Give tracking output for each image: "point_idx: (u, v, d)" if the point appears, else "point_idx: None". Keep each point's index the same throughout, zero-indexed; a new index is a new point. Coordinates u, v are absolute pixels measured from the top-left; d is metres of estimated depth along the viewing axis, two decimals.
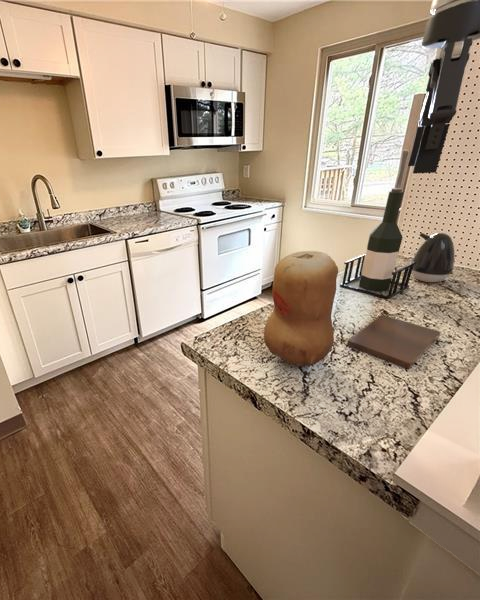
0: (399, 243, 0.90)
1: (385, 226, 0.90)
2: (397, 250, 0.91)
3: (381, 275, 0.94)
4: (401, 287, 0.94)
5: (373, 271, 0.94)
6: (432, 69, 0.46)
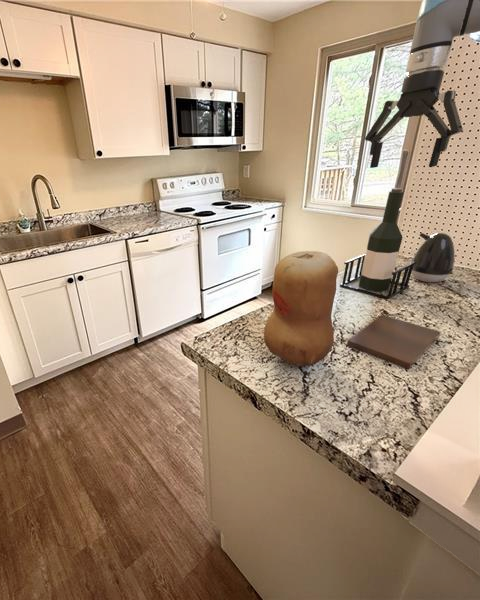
0: (399, 243, 0.90)
1: (385, 226, 0.90)
2: (397, 250, 0.91)
3: (381, 275, 0.94)
4: (401, 287, 0.94)
5: (373, 271, 0.94)
6: (422, 105, 0.76)
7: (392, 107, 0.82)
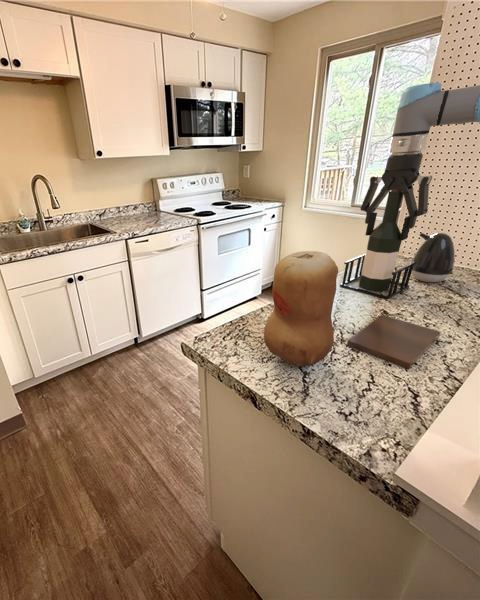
0: (399, 243, 0.90)
1: (385, 226, 0.90)
2: (397, 250, 0.91)
3: (381, 275, 0.94)
4: (401, 287, 0.94)
5: (373, 271, 0.94)
6: (403, 183, 0.84)
7: (378, 181, 0.89)
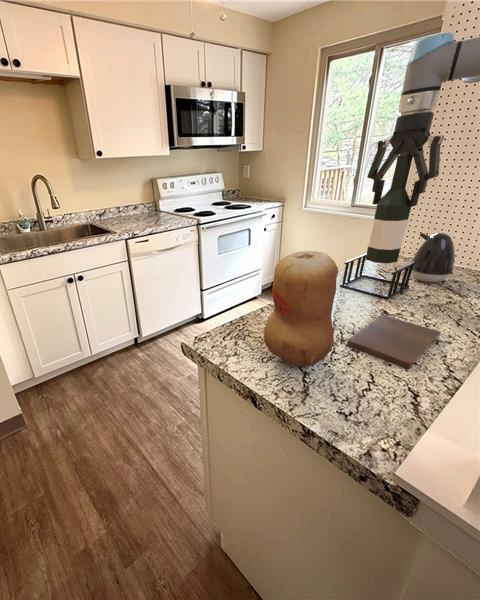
0: (408, 210, 0.86)
1: (394, 192, 0.86)
2: (406, 218, 0.86)
3: (389, 245, 0.89)
4: (401, 287, 0.94)
5: (381, 241, 0.90)
6: (412, 144, 0.80)
7: (386, 145, 0.85)
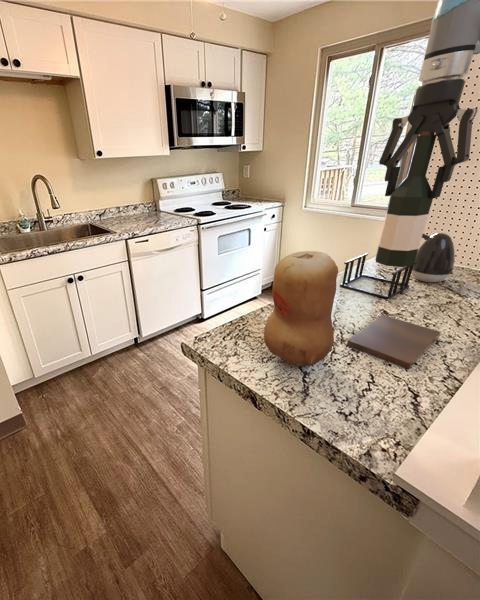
0: (429, 203, 0.70)
1: (412, 181, 0.70)
2: (426, 212, 0.71)
3: (405, 245, 0.74)
4: (401, 287, 0.94)
5: (395, 240, 0.75)
6: (437, 121, 0.64)
7: (403, 124, 0.70)
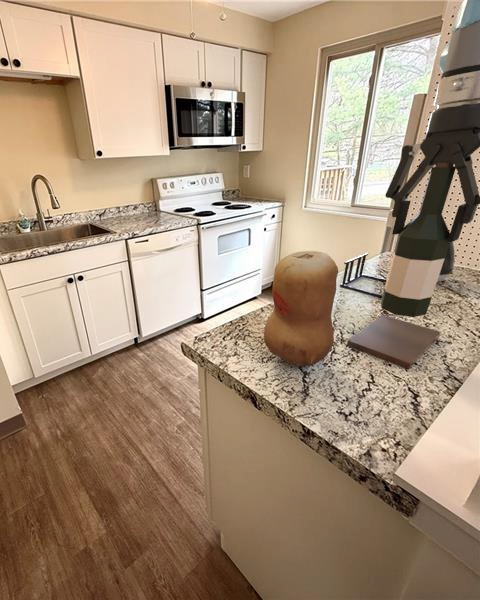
0: (446, 246, 0.59)
1: (425, 220, 0.59)
2: (442, 256, 0.60)
3: (416, 292, 0.63)
4: None
5: (405, 287, 0.64)
6: (457, 152, 0.53)
7: (414, 152, 0.59)
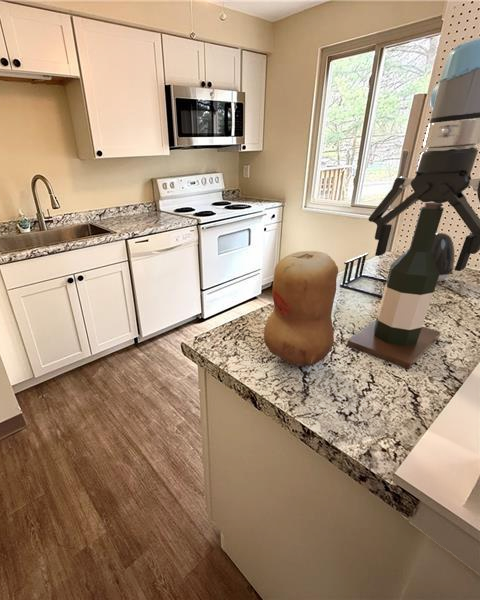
0: (435, 281, 0.62)
1: (415, 257, 0.62)
2: (431, 291, 0.63)
3: (407, 323, 0.66)
4: None
5: (396, 318, 0.67)
6: (447, 191, 0.56)
7: (405, 186, 0.62)
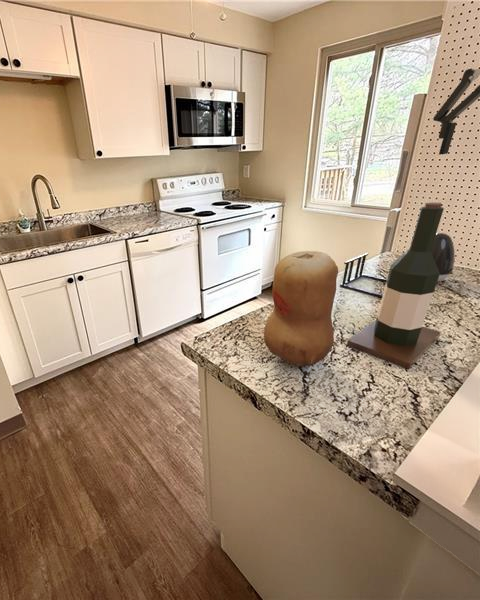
0: (435, 281, 0.62)
1: (415, 257, 0.62)
2: (431, 290, 0.63)
3: (407, 323, 0.66)
4: None
5: (396, 318, 0.67)
6: None
7: (474, 77, 0.65)
